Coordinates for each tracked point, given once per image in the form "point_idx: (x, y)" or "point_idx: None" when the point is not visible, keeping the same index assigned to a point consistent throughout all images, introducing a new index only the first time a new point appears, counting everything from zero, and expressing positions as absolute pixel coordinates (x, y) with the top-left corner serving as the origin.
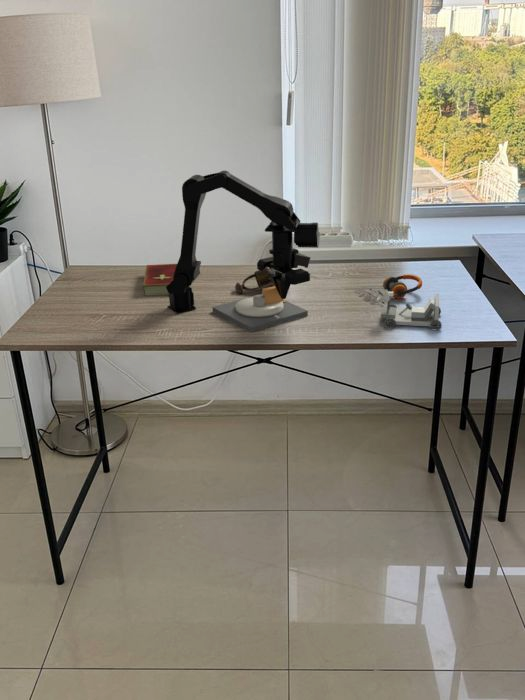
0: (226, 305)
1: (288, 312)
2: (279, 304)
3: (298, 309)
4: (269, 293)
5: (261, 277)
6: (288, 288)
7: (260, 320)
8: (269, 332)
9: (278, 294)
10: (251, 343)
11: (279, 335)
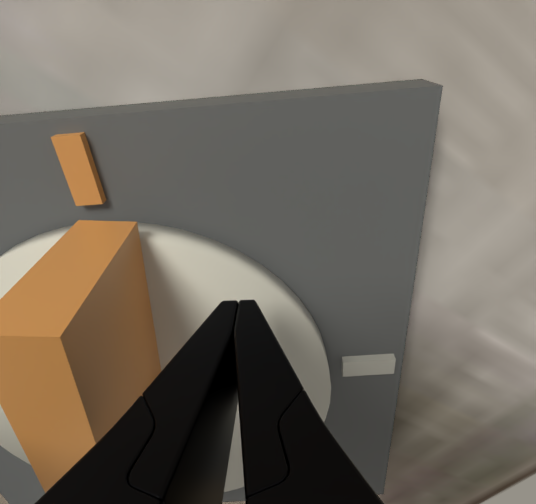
0: (14, 470)
1: (344, 260)
2: (212, 291)
3: (344, 148)
4: None
5: None
6: (304, 399)
7: (339, 440)
8: (443, 416)
9: (116, 318)
10: (473, 497)
11: (516, 400)
